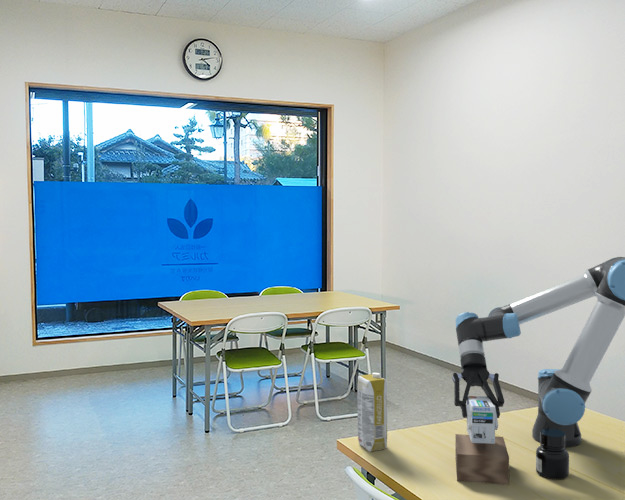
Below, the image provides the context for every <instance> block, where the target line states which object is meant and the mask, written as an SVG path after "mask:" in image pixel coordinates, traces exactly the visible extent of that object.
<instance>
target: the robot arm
mask: <svg viewBox="0 0 625 500" xmlns="http://www.w3.org/2000/svg"><path fill="white" fill-rule="evenodd" d="M593 297H594V298H595V297H596V298H597V300H596V303H595V305H594V307H593V308H592V310H591V311H590V313H589V316H588V318H587V320H586V322H585V324H584V326H583V328H582V329H581V331H580V334H579V336H578V338H577V339H576V341H575V343H574V345H573V346H572V349H571V351H570V352H569V355H568V357H567V359H566V360H565V362H564V364H563V366H562V368H561V369H558V368H557V369H556V368H543V369H540V370H539V371H538V375H537V380H538V382H537V383H538V384H537V385H538V386H537V387H538V388H537V390H538V391H537V415H536V418H535V422H534V424H533V427H532V432H531V433H532V435H531V436H532V438H533V440H535V441H536V442H539V443H540V431H541V430H543V429H556V430H560V431H562V432H564V433H565V447H564V448H567V447H568V448H569V447H576V446H578V445H581V444H582V433H581V430H580V426H579V424H578V422H579V421H580V420H581V419H582V418H584V415H585V411H586V403H587V400H588V398H589V397H590V395H591V393H592V390H593V389H592V386H591V381H592V379H593V377H594V376H595V374H596V371H597V369H598V368H599V366H600V364H601V362H602V360H603V358H604V356H605V355H606V352H607V351H608V349H609V347H610V345H611V343H612V341H613V339H614V337H615V336H616V334H617V332H618V330H619V327H620V326H621V324H622V322H623V321H624V318H625V256H617V257H612V258H610V259H608V260H606V261H603V262H602V263H599V264H597V265H595V266H593V267H591V268H588V269H586V270H585V272H584V273H583V274H582V275H580V276H576V277H574V278H572V279H570V280H567V281H564V282H562V283H559V284H557V285H554V286H552V287H549V288H547V289H543V290H542V291H540V292H539V291H538V292H537V293H534V294H532V295H528V296H526V297H524V298H521V299H519V300H516V301H514V302H511V303H509V304H507V305H504V306H498V307H495V308H493V309H492V310H491V311H489V313H488V315H487V316H486V317H479V316H478V314H476V313H475V312H469V311H465V312H462V313H460V314H459V315H457V316H456V318H455V330H456V331H455V332H456V337H457V338H456V339H457V345H458V351H459V359H460V361H459V362H460V367H461V368H460V369H461V371H460V373H457V372H453V374H452V381H453V385H454V394H453V395H454V402H453V403H454V407H460V410H461V417H462V418H463V419H465V420H466V428H467V427H468V430H471V426H472V424H471V416H470V409H469V405H467V398H468V396H469V393H470V389H471V387H480V388H481V390H483V392H484V394H485V395H486V397H488V398H489V399H490V400H491V402H492V403H493V405H494V406H495V431H497V430H498V428H499V420H498V419H500V416H501V413H500V411H501V410H500V408H501V407H502V408H503V407H504V404H505V397H504V395H503V392H502V388H501V384H500V381H499V376H500V375H499V373H497V372H496V373H490V371H489V370H488V368H487V361H486V356H485V355H486V354H485V351H484V349H485V348H484V343H483V342H488V341H489V342H491V341H496V340H505V339H512V338H515V337H519V336H521V334H522V333H521V328H520V327H521V325H522V324H524V323H527V322H530V321H533V320H535V319H538V318H541V317H543V316H546V315H549V314H553V313H554V312H557V311H559V310H562V309H565V308H567V307H570V306H573V305H574V304H578V303H581V302H583V301H585V300H588V299H591V298H593ZM461 379H462V380H463V381H464V382H465V383H466V384H465V388H464V389H465V390H464V392H463V396H462V400H461V398H460V381H461ZM488 379H490V382H492V386H493V390H494V393H495V394H494V393H493V390H492V389H491V387H490V385H489V383H488Z"/></svg>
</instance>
